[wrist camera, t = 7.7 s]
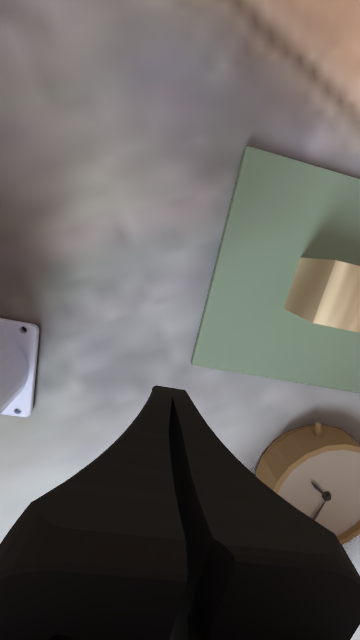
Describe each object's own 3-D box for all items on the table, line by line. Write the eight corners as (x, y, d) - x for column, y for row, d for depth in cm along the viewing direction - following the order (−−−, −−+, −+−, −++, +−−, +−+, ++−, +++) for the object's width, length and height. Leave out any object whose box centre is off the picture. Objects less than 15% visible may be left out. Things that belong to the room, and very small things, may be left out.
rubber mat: (190, 361, 21) (191, 364, 21) (244, 148, 17) (247, 145, 17) (396, 396, 24) (402, 400, 24) (482, 219, 20) (492, 218, 20)
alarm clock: (411, 464, 23) (336, 609, 24) (363, 434, 28) (302, 555, 28) (312, 422, 21) (232, 583, 21) (279, 398, 26) (215, 529, 26)
